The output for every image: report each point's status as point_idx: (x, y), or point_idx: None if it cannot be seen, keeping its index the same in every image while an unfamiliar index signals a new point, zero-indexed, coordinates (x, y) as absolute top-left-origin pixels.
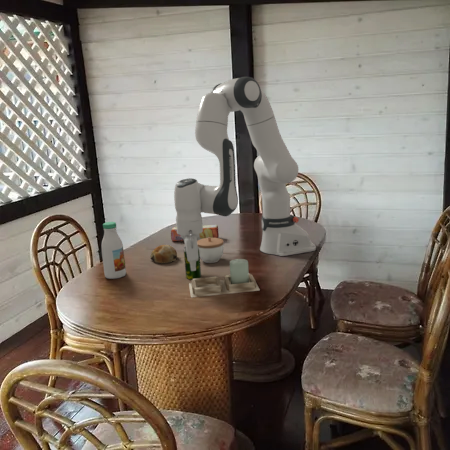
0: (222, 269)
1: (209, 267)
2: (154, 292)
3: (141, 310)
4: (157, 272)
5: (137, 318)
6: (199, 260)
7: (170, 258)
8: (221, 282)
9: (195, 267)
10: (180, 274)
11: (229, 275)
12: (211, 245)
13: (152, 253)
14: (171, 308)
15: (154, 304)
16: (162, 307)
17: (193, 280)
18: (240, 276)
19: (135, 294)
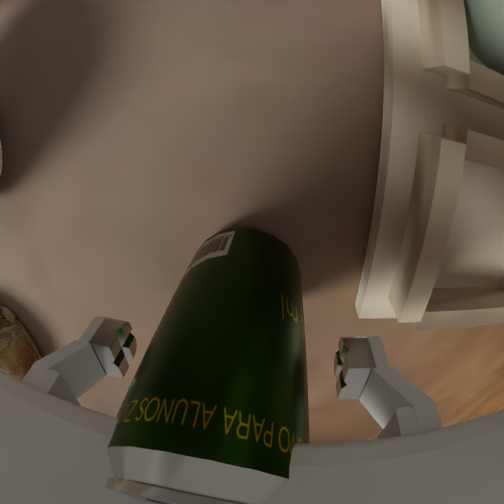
0: (91, 65)
1: (50, 156)
2: (345, 411)
3: (452, 415)
4: (123, 385)
5: (482, 410)
6: (260, 337)
7: (15, 336)
8: (436, 107)
9: (384, 355)
10: (145, 322)
11: (449, 35)
12: None
13: None
14: (500, 355)
15: (443, 399)
16: (477, 378)
17: (429, 319)
18: None
19: (331, 441)
